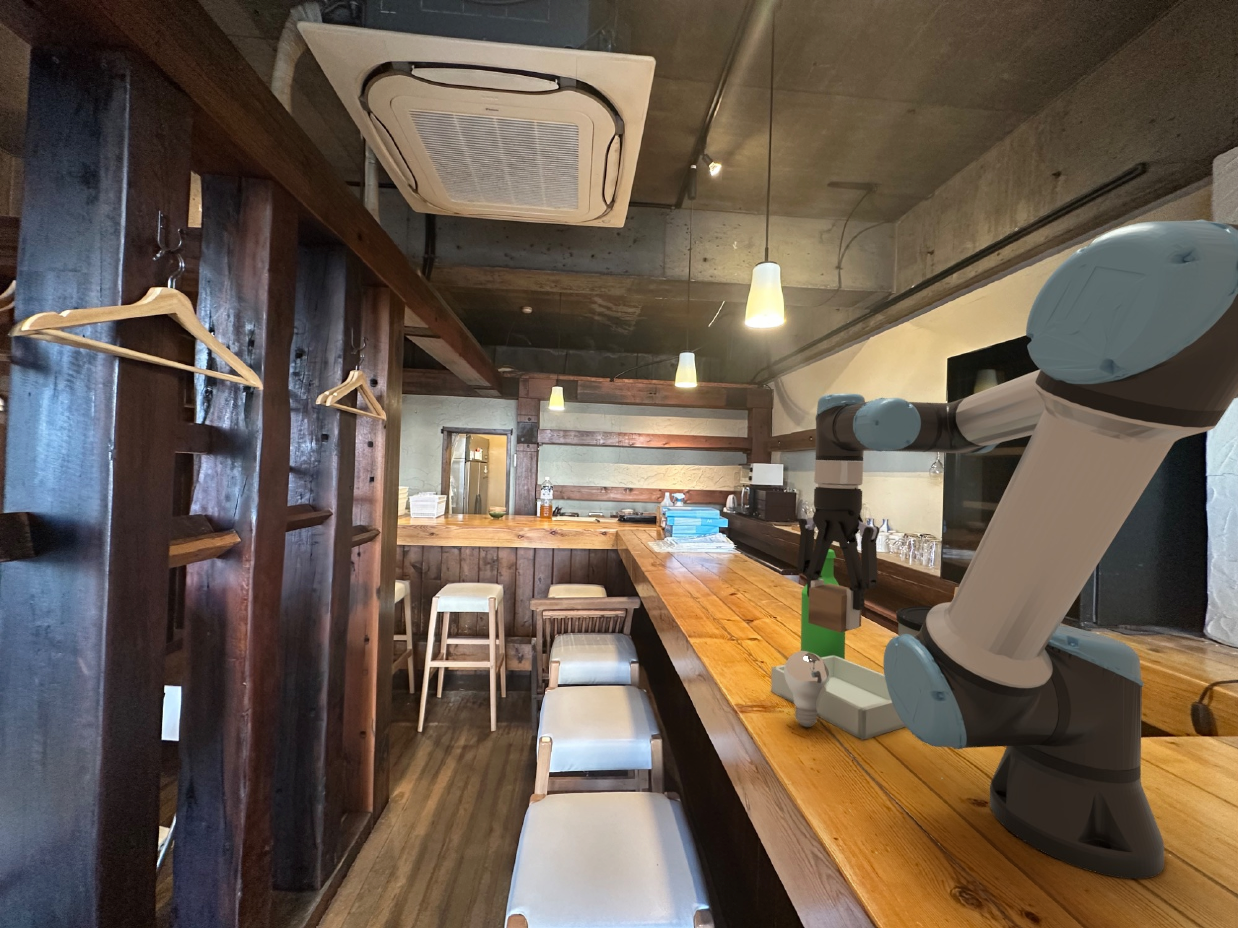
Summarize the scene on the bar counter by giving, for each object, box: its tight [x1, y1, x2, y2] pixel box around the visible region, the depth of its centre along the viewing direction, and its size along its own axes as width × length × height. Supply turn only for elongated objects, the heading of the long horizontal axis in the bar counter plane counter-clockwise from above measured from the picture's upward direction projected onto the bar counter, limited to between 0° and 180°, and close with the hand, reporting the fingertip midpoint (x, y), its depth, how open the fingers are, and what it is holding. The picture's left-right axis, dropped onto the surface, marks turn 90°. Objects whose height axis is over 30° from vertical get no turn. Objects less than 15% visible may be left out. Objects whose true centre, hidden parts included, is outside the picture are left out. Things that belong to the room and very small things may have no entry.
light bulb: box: [784, 650, 830, 729], centre depth 84 cm, size 7×7×12 cm
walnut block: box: [808, 583, 862, 633], centre depth 88 cm, size 6×6×6 cm
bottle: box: [800, 548, 846, 660], centre depth 111 cm, size 9×9×25 cm
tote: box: [770, 655, 907, 741], centre depth 92 cm, size 20×17×4 cm
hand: (833, 622), depth 88 cm, fingers closed on walnut block, 6 cm apart
